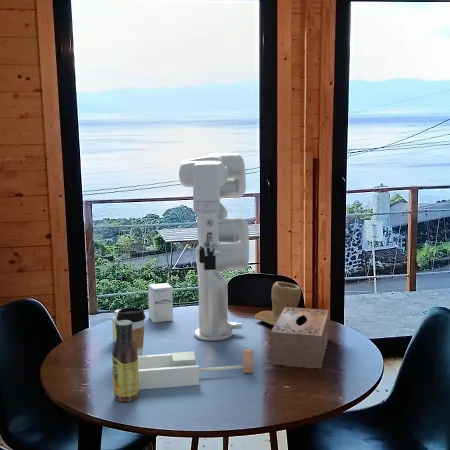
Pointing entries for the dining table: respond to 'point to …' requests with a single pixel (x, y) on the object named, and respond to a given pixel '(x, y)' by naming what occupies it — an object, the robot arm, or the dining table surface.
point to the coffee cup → (134, 325)
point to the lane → (164, 372)
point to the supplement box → (160, 302)
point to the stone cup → (280, 301)
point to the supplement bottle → (115, 325)
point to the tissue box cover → (300, 337)
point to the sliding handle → (189, 360)
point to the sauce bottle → (125, 364)
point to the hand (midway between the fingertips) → (207, 266)
